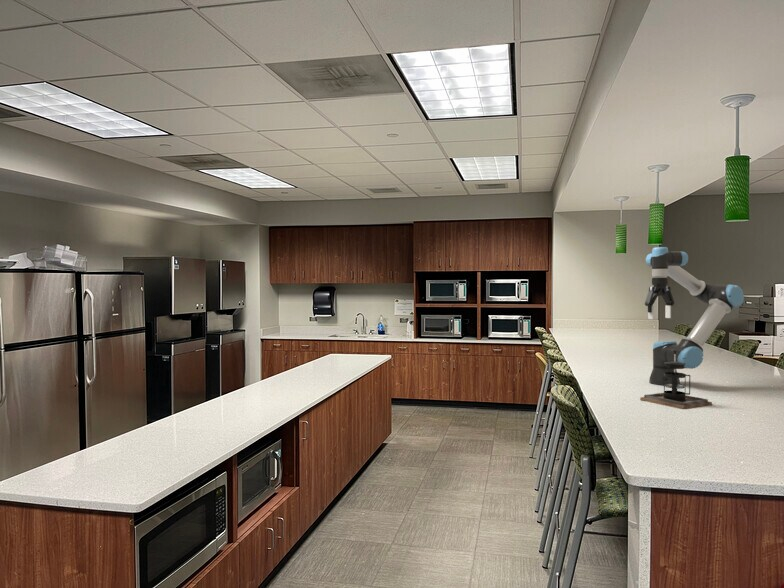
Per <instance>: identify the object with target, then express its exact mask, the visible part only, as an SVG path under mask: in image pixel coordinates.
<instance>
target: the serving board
mask: <svg viewBox="0 0 784 588" xmlns="http://www.w3.org/2000/svg"><path fill="white" fill-rule="evenodd" d="M663 397H664V392H656V393H650V394H644V396H643V397H642V396H640V401H644V402H647V403H648V402H649V403H653V404H658V405H662V406H666V407H672V408H675V409H676V408H677V409H681V410H686V409H693V408H699V407H706V406H707V407H708V406H712V405H713V402H712V401H709V399H707V398H702V397H698V396H691V395H687V394H685V399H686V401H682V402H679V401H674V400H669V399H664V398H663Z"/></svg>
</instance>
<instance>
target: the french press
mask: <svg viewBox="0 0 784 588" xmlns="http://www.w3.org/2000/svg"><path fill="white" fill-rule="evenodd" d="M670 351H674V362H664V363H665V365H666V366H667V368H671V369H674V372H665V373H664V385H663V393H664V397H663V398H664V399H669V400H674V401H679V402H682V401H686V399H685V395H687V396H691V375H690V374H686V373H684V372H678V371H677V372H675V369H676V370H683V369H686V368H685V365H686V363H681V362H675V354H676V351H680V350H670ZM665 377H671V378H672V384H665ZM686 377H688V378H689V379H688V382H689V384H688V385H689V387H688V392H686V391H687V390H686V387H687V386H686V381H687V380H686ZM677 378H679V379H684V384H683V385H682V384H680V385H678V384H677ZM665 388H668V389H671V390H666V389H665ZM678 389H679V390H678ZM680 389H684V392H683V391H681V390H680Z"/></svg>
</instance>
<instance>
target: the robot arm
mask: <svg viewBox="0 0 784 588" xmlns="http://www.w3.org/2000/svg"><path fill="white" fill-rule="evenodd" d="M645 263H646V265H647V266H649V267H651V277H652V278H651V285H652V286H648V293H647V295H646V298H645V301H644V305H645V306H646V307H647V319H648V320H654V319H655V314H654V313H655V308H654V307H655V306H654V304H655V302H656V300H657V298H658V297H659V296H661V297H662V299H663V300H664V302H665V304H666V305H665V307H664V308H665V312H664V315H665V319H672V306H674V305H675V300H674V297H673V294H672V292H671V290H672V289H671V286H668V284H669V278H668V277H670V278H671V279H672V280H674V282H676V283H678V284H679V285H681V286H682V287H683V288H685V289H686V290H687V291H688V292H689V294H690V295H691V296H693V297H694V298H695V299H697V301H700V302H702V303H704V304H705V305H706V304H707V305H709V306H707V308H706V309H705V311H704V313H703V314H702V316H700V318H699V319H698V321H697V323H696V324H695V325H694V326H693V328H692V330H691V331H690V333H689V334H688V335H687V337H684V338H682V339H681V340H680V341H679V342H678V343H677V341H669V340H668V341H655V342H653V347H652V370H651V373H650V376H649V380H648V381H649V383H650V384H652V385H659V386H664V373H665V372H674V369H671V368H667V366H666V365H665V363H664V362H674V351H670V350H680V351H676V354H675V362H681V363H686V365H685V368H684V369H691V370H692V369H696V368H698V367H699V366H700V365H701V364H702V362H703V360H704V348H703V346H704V345H705V344H706V343H707V341H708V340H709V338H710V337H711V335H712V334H713V332H714V331H715V329H716V327H717V326H718V325H719V323H721V320H722V319H723V318H724V316H725V314H730V313H731V312H732V310H733V309H734V308H738V307H741V305H743V302H744V300H745V296H744V292H743V289H742V288H741V286H739V285H736V284H729V283H728V284H711V283H707V282H706V281H704V280H701V279H700V280H699V279H698V278H696V277H695V276H694V275H692V274H691V273H689V272H688V271H687V270H686V269H684V268H682V267H684V266H685V265H687V264H688V263H689V255H688V253H687V252H685V251H681V250H680V251H674V250H673V251H669V248H668V247H667V246H657V247H653V248H652V249H651V253H649V254H647V255H646V257H645ZM677 370H678V369H675V372H678V371H677ZM665 384H672V378H671V377H665ZM677 384H678V385H681V378H677Z"/></svg>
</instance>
